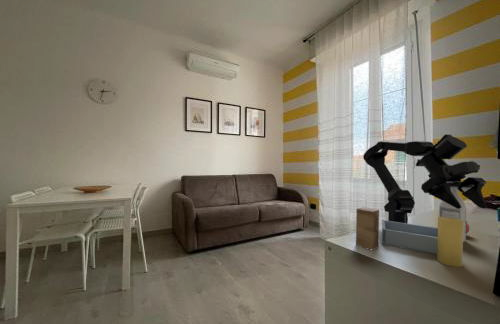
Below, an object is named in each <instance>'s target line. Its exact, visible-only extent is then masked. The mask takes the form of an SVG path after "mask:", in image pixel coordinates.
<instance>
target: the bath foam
mask: <svg viewBox="0 0 500 324" xmlns="http://www.w3.org/2000/svg"><path fill="white" fill-rule="evenodd" d="M450 190H451V192H452V193H453V195H454V196H455V198H456V199H457V200H458V202H459V203H460V205H461V208H460V209H457V208H455V207H453V206H451V205H450V204H448V203H446V202H444V201H442V200H440V202H439V207H438V208H439V210H438V213H439V215H438V217H451V218H456V219H460V220H463V243H465V242H466V240H467V239H466V235H467V233H466V221H467V206H466V203H465V201H464V200H463V198H462V197H461V196H460V194H459V190H458V189H457V188H450Z"/></svg>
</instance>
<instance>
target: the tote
mask: <svg viewBox="0 0 500 324" xmlns="http://www.w3.org/2000/svg"><path fill="white" fill-rule="evenodd" d="M381 240H382V241H381V242H382V245H383V246H384V245H385V246H391V247H395V248H399V249H400V248H401V249H405V250H406V249H407V250H412V251H415V252H422V253H426V254H431V255H437V251H438V227H435V226H428V225H421V224H414V223H408V224H407V223H400V222H393V221H388V220H383V219H381Z"/></svg>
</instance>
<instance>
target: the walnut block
mask: <svg viewBox="0 0 500 324" xmlns="http://www.w3.org/2000/svg"><path fill="white" fill-rule="evenodd" d="M355 224H356V225H355V229H356V230H355V234H356V235H355V246H358V247H360V246H361V247H360V248H363V247H364V249H367V248H368V249H367V250H370V249H372V250H371V251H374V250H375V249H377V248H379V241H380V240H379V239H380V237H379V234H380V233H379V232H380V231H379V230H380V229H379V228H380V209H376V208H371V207H366V206H362V207H361V206H360V207H358V208H356V223H355ZM376 247H377V248H376ZM374 248H375V249H374ZM373 249H374V250H373Z"/></svg>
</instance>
